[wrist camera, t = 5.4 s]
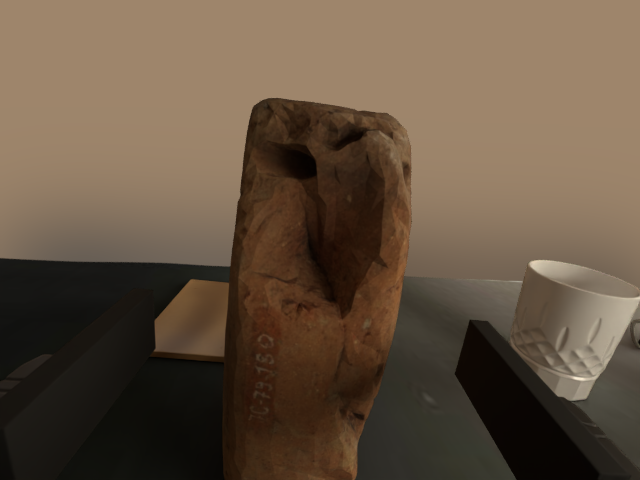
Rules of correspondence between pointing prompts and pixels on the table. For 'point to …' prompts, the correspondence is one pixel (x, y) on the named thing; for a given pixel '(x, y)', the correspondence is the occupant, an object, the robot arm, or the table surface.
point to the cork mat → (194, 323)
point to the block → (312, 287)
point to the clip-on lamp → (632, 331)
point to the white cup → (570, 323)
